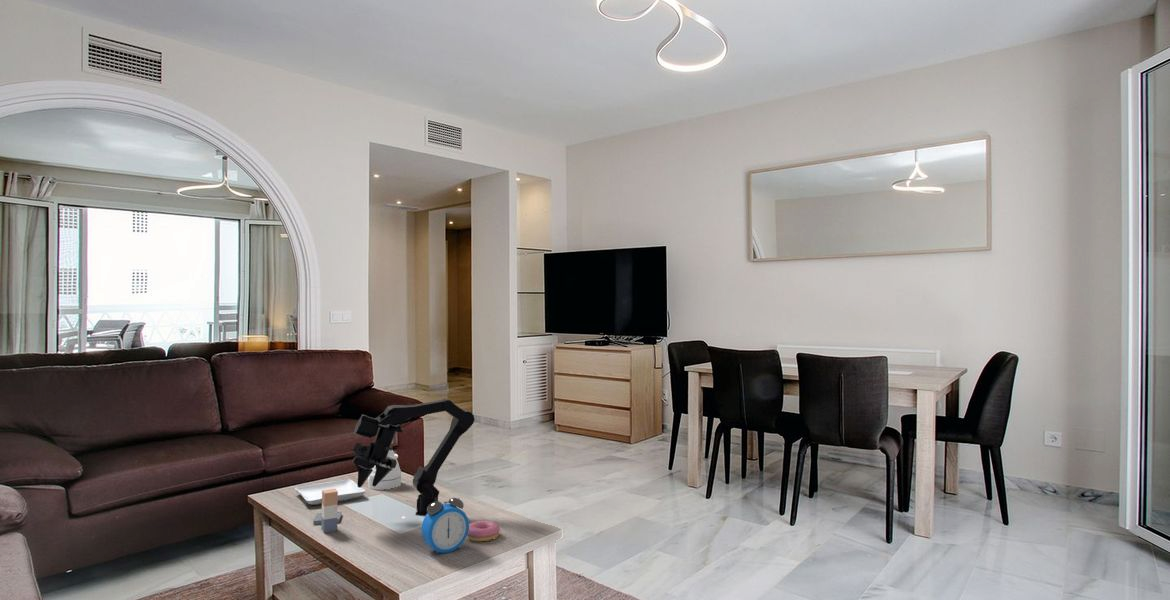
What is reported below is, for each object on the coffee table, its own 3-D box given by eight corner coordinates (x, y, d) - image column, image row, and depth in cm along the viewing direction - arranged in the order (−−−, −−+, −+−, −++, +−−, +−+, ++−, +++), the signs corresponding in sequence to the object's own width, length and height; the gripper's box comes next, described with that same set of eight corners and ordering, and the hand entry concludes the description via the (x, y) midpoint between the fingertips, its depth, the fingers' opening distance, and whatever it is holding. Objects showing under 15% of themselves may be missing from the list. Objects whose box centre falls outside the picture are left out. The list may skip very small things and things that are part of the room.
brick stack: (334, 526, 205) (335, 488, 206) (336, 530, 202) (337, 491, 202) (321, 529, 203) (322, 490, 203) (323, 532, 200) (324, 493, 200)
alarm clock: (428, 558, 181) (429, 506, 181) (419, 551, 186) (420, 501, 186) (469, 548, 189) (470, 498, 189) (460, 542, 194) (461, 493, 194)
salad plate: (293, 495, 240) (293, 486, 240) (350, 486, 252) (350, 478, 252) (306, 510, 223) (307, 500, 223) (367, 499, 235) (367, 490, 235)
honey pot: (393, 479, 263) (394, 436, 263) (406, 486, 253) (407, 441, 253) (363, 484, 254) (363, 440, 255) (375, 491, 245) (376, 445, 245)
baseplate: (341, 515, 217) (341, 511, 217) (339, 522, 209) (339, 519, 209) (316, 516, 215) (316, 513, 215) (313, 524, 207) (313, 521, 207)
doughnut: (490, 545, 192) (490, 532, 192) (458, 541, 195) (458, 527, 195) (505, 533, 202) (505, 520, 202) (475, 529, 206) (475, 516, 206)
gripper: (378, 435, 225) (361, 477, 222) (348, 433, 207) (330, 479, 204) (404, 445, 222) (388, 488, 219) (376, 444, 204) (358, 491, 201)
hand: (366, 486), depth 211 cm, fingers open, 9 cm apart
